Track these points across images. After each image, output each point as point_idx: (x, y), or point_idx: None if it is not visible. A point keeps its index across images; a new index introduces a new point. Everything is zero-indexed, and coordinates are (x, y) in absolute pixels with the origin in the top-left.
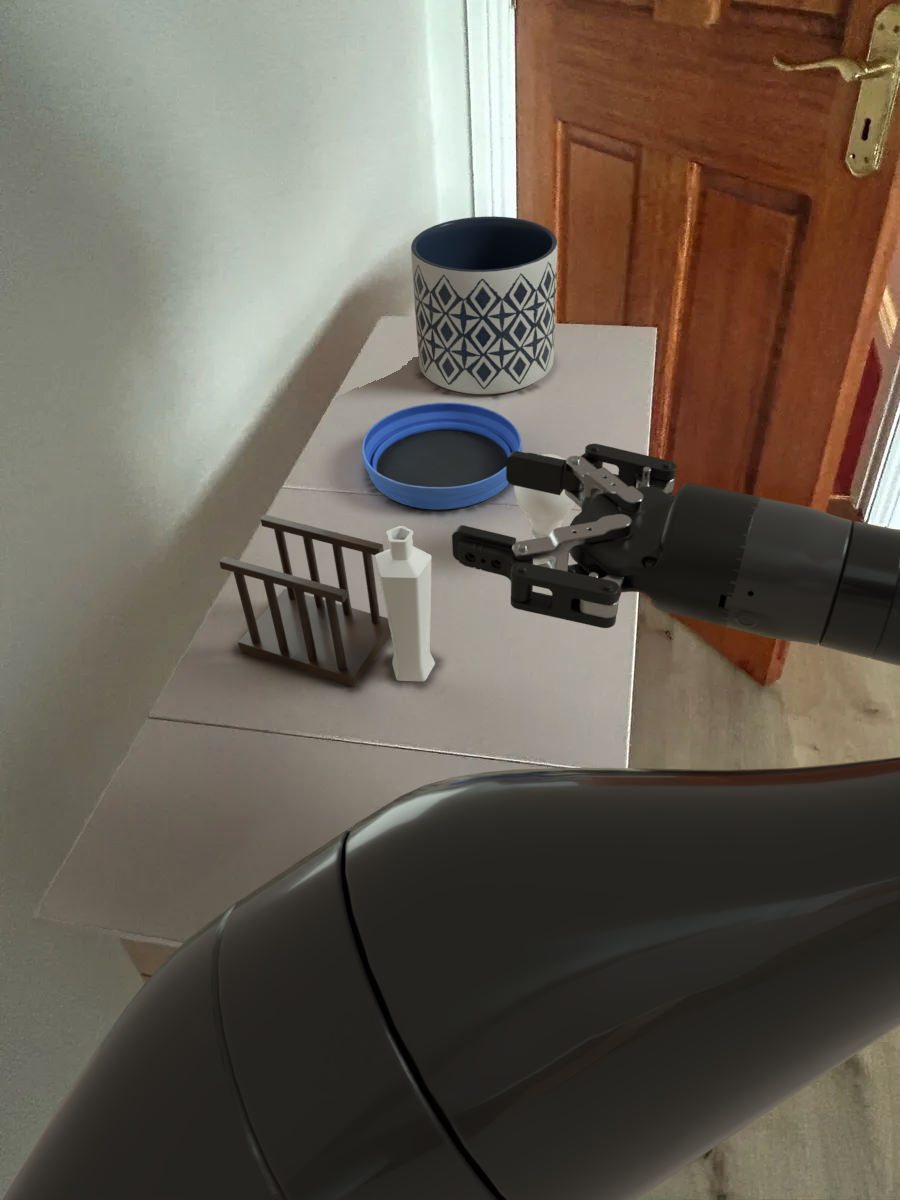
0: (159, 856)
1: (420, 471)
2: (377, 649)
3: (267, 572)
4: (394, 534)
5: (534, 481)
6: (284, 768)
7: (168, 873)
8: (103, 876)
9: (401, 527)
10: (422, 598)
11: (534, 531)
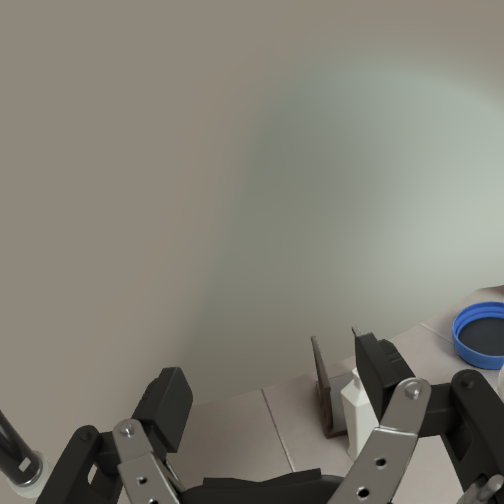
0: (193, 429)
1: (479, 338)
2: None
3: (317, 353)
4: None
5: (368, 386)
6: (256, 445)
7: (186, 435)
8: None
9: None
10: (363, 421)
11: None
